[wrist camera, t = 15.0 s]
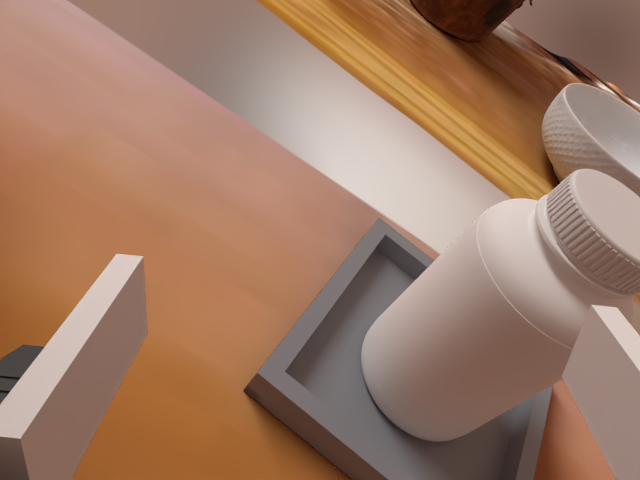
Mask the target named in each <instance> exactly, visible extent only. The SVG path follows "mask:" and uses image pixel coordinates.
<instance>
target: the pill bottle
mask: <svg viewBox="0 0 640 480" xmlns="http://www.w3.org/2000/svg"><path fill="white" fill-rule="evenodd" d="M638 293H640V197H639V196H638V195H636V194H635V193H634V192H633V191H632V190H630V189H629V188H628V187H626V186H625V185H624V184H622V183H621V182H619V181H618V180H616V179H614V178H612V177H611V176H609V175H607V174H604V173H602V172H599V171H596V170H592V169H580V170H576V171H574V172H572V173H571V174H570V175H569V176H568V177H566V178H565V179H564V180H563V181H562V182H561V183H560V184H559V185H558V186H556V187H555V188H554V189H553V190H552V191H551V192H550V193H549V194H547V195H544V196H543V197H542V198H541V199H540V200H539V201H537V200H532V199H522V198H519V199H510V200H506V201H503V202H500V203H498V204H496V205H494V206H492V207H490V208H488V209H487V210H485V211H484V212H483V213H482V214H481V215H480V216H479V217H478V218H477V219H476V220H475V221H474V222H473V223H472V224H471V225H470V226H469V227H468V228H467V229H466V230H465V231H464V232H463V233H462V234H461V235H460V236H459V237H458V238H457V239H456V240H455V241H454V242H453V243H452V244H451V245H450V246H449V247H448V248H447V249H446V250H445V251H444V252H443V253H442V254H441V255H440V256H439V257H438V258H437V259H436V260H435V261H434V262H433V263H432V264H431V265H430V266H429V267H428V268H427V269H426V270H425V271H424V272H423V273H422V274H421V275H420V276H419V277H418V278H417V279H416V280H415V281H414V282H413V283H412V284H411V285H410V286H409V287H408V288H407V289H406V290H405V291H404V292H403V293H402V294H401V295H400V296H399V297H398V298H397V299H396V300H395V301H394V302H393V303H392V304H391V305H390V306H389V307H388V308H387V309H386V310H385V311H384V312H383V313H382V314H381V315H380V316H379V317H378V318H377V319H376V321H375V322H374V323H373V325H372V326H371V327H370V329H369V330H368V332H367V334H366V336H365V339H364V342H363V345H362V351H361V365H362V372H363V376H364V379H365V383H366V385H367V388H368V390H369V392H370V394H371V396H372V398H373V399H374V401H375V403H376V404H377V406H378V407H379V408H380V410H381V411H382V412H383V413H384V414H385V415H386V416H387V418H388V419H389V420H391V421H392V422H393V423H394V424H395V425H396V426H398V427H399V428H400V429H402V430H403V431H405V432H407V433H408V434H410V435H412V436H415V437H417V438H420V439H423V440H428V441H435V442H443V441H449V440H453V439H456V438H459V437H461V436H464V435H466V434H468V433H470V432H471V431H473V430H475V429H477V428H478V427H480V426H482V425H483V424H485V423H487V422H489V421H490V420H492V419H494V418H496V417H497V416H499V415H501V414H503V413H504V412H506V411H508V410H510V409H511V408H513V407H515V406H517V405H518V404H520V403H522V402H524V401H525V400H527V399H529V398H531V397H532V396H534V395H536V394H538V393H539V392H541V391H543V390H545V389H546V388H548V387H550V386H552V385H553V384H555V383H557V382H559V381H560V380H562V379H563V378H562V374H563V372H564V369H565V367H566V365H567V362H568V360H569V357H570V355H571V352H572V350H573V348H574V345H575V343H576V340H577V338H578V335H579V333H580V331H581V328H582V326H583V323H584V321H585V318H586V316H587V314H588V311H589V309H590V306H591V305H599V306H608V307H617V308H618V309H619V311H620V312H621V313H622V314H623V316H624V317H625V318H626V319H627V321H628V322H629V323H630V324H631V322H632V316H633V302H632V297H633V296H635V295H637V294H638Z"/></svg>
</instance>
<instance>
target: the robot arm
mask: <svg viewBox="0 0 640 480" xmlns="http://www.w3.org/2000/svg"><path fill="white" fill-rule="evenodd" d="M147 333H148V328H147V311H146V294H145V277H144V260H143V256H134V255H124V254H116V255H115V257H114V258H113V259H112V261H111V262H110V263H109V264H108V266H107V267H106V268H105V270H104V271H103V272H102V274H101V275H100V276H99V277H98V279H97V280H96V281H95V283H94V284H93V285H92V286H91V288H90V289H89V290H88V292H87V293H86V294H85V296H84V297H83V298H82V299H81V301H80V302H79V303H78V305H77V306H76V307H75V308H74V310H73V311H72V312H71V314H70V315H69V316H68V317H67V319H66V320H65V321H64V323H63V324H62V325H61V327H60V328H59V329H58V330H57V332H56V333H55V334H54V336H53V337H52V338H51V339H50V341H49V342H48V343H47V345H46V346H45V347H40V346H30V345H22V346H21V347H19V348H17V349H16V350H14V351H13V352H11V353H10V354H8V355H6V356H5V357H3V358H2V359H1V360H0V480H71V478H72V477H73V475H74V473H75V471H76V469H77V467H78V465H79V463H80V461H81V459H82V457H83V456H84V454H85V452H86V450H87V448H88V446H89V444H90V442H91V440H92V438H93V436H94V435H95V433H96V431H97V429H98V427H99V425H100V423H101V421H102V419H103V417H104V415H105V414H106V412H107V410H108V408H109V406H110V404H111V402H112V400H113V398H114V396H115V394H116V393H117V391H118V389H119V387H120V385H121V383H122V381H123V379H124V377H125V375H126V373H127V372H128V370H129V368H130V366H131V364H132V362H133V360H134V358H135V356H136V354H137V352H138V351H139V349H140V347H141V345H142V343H143V341H144V339H145V337H146V335H147ZM562 378H563V380H564V382H565V384H566V385H567V387H568V389H569V391H570V393H571V395H572V397H573V399H574V401H575V402H576V404H577V406H578V408H579V410H580V412H581V414H582V416H583V417H584V419H585V421H586V423H587V425H588V427H589V429H590V431H591V433H592V434H593V436H594V438H595V440H596V442H597V444H598V446H599V448H600V449H601V451H602V453H603V455H604V457H605V459H606V461H607V463H608V465H609V466H610V468H611V470H612V472H613V474H614V476H615V478H616V480H640V336H639V335H638V333H637V332H636V331H635V330H634V328H633V327H632V326H631V324H630V323H629V322H628V321H627V319H626V318H625V317H624V316H623V314H622V313H621V312H620V311H619V309H618V308H617V307H608V306H599V305H591V306H590V309H589V311H588V314H587V316H586V318H585V321H584V323H583V326H582V328H581V331H580V333H579V335H578V338H577V340H576V343H575V345H574V348H573V350H572V352H571V355H570V357H569V360H568V362H567V365H566V367H565V369H564V372H563V374H562Z"/></svg>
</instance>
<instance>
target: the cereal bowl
mask: <svg viewBox="0 0 640 480" xmlns="http://www.w3.org/2000/svg"><path fill="white" fill-rule="evenodd" d="M542 140H543V145H544V149H545V150H546V154H547V155H548V158H549V159H550V162H551V163H552V164H553V170H554V173H555V175H556V177H557V179H558V180H559V182H560V183H561V182H562V181H563V180H564V179H565V178H566V177H568V176H569V175H570V174H571V173H572V172H574V171H576V170H580V169H592V170H596V171H599V172H602V173H604V174H607V175H609V176H611V177H612V178H614V179H616V180H618V181H619V182H621V183H622V184H624V185H625V186H626V187H628V188H629V189H630V190H632V191H633V192H634V193H635V194H636V195H638V196H639V197H640V113H639V112H637V111H636V110H635V109H633V108H632V107H630V106H629V105H627V104H626V103H624V102H623V101H621V100H619V99H618V98H616V97H614V96H612V95H611V94H609V93H607V92H605V91H603V90H601V89H598V88H596V87H593V86H590V85H587V84H582V83H571V84H569V85H567V86H565V87H564V88H563V89H562V90H561V91H560V93H559V94H558V95H557V96H556V97H555V99H554V100H553V101H552V103H551V105H550V106H549V108H548V109H547V111H546V113H545V115H544V119H543V122H542Z"/></svg>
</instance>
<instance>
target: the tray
mask: <svg viewBox="0 0 640 480" xmlns="http://www.w3.org/2000/svg"><path fill="white" fill-rule="evenodd" d="M433 262H434V260H433V259H431V258H430V257H429V256H428V255H426V254H425V253H424V252H423V251H421V250H420V249H419V248H417V247H416V246H415V245H414V244H412V243H411V242H410V241H408V240H407V239H406V238H405V237H403V236H402V235H401V234H400V233H398V232H397V231H396V230H394V229H393V228H392V227H391V226H389V225H388V224H387V223H385V222H384V221H383V220H382V219H380V218H378V220H377V221H376V222H375V223H374V225H373V226H372V227H371V228H370V230H369V231H368V232H367V233H366V235H365V236H364V237H363V239H362V240H361V241H360V242H359V244H358V245H357V246H356V247H355V249H354V250H353V251H352V253H351V254H350V255H349V256H348V258H347V259H346V260H345V261H344V263H343V264H342V265H341V267H340V268H339V269H338V270H337V272H336V273H335V274H334V275H333V277H332V278H331V279H330V281H329V282H328V283H327V284H326V286H325V287H324V288H323V289H322V291H321V292H320V293H319V295H318V296H317V297H316V298H315V300H314V301H313V302H312V303H311V305H310V306H309V307H308V309H307V310H306V311H305V312H304V314H303V315H302V316H301V318H300V319H299V320H298V321H297V323H296V324H295V325H294V326H293V328H292V329H291V330H290V332H289V333H288V334H287V335H286V337H285V338H284V339H283V340H282V342H281V343H280V344H279V346H278V347H277V348H276V349H275V351H274V352H273V353H272V354H271V356H270V357H269V358H268V360H267V361H266V362H265V363H264V365H263V366H262V367H261V368H260V370H259V371H258V372H257V374H256V375H255V376H254V377H253V379H252V380H251V381H250V383H249V384H248V385H247V386H246V388H245V389H244V391H245V392H246V393H247V394H249V395H250V396H251V397H252V398H253V399H255V400H256V401H257V402H258V403H260V404H261V405H262V406H263V407H264V408H266V409H267V410H268V411H269V412H271V413H272V414H273V415H274V416H275V417H277V418H278V419H279V420H280V421H281V422H283V423H284V424H285V425H286V426H288V427H289V428H290V429H291V430H292V431H294V432H295V433H296V434H297V435H299V436H300V437H301V438H302V439H303V440H305V441H306V442H307V443H308V444H309V445H311V446H312V447H313V448H314V449H316V450H317V451H318V452H319V453H320V454H322V455H323V456H324V457H325V458H327V459H328V460H329V461H330V462H331V463H333V464H334V465H335V466H336V467H337V468H339V469H340V470H341V471H342V472H344V473H345V474H346V475H347V476H348V477H350V478H351V479H352V480H534V476H535V471H536V466H537V461H538V456H539V452H540V447H541V442H542V437H543V432H544V427H545V422H546V418H547V413H548V408H549V403H550V398H551V393H552V389H553V385H552V386H550V387H548V388H546V389H545V390H543V391H541V392H539V393H538V394H536V395H534V396H532V397H531V398H529V399H527V400H525V401H524V402H522V403H520V404H518V405H517V406H515V407H513V408H511V409H510V410H508V411H506V412H504V413H503V414H501V415H499V416H497V417H496V418H494V419H492V420H490V421H489V422H487V423H485V424H483V425H482V426H480V427H478V428H477V429H475V430H473V431H471V432H470V433H468V434H466V435H464V436H461V437H459V438H456V439H453V440H449V441H443V442H435V441H428V440H423V439H420V438H417V437H415V436H412V435H410V434H408V433H407V432H405V431H403V430H402V429H400V428H399V427H398V426H396V425H395V424H394V423H393V422H392V421H391V420H389V419H388V418H387V416H386V415H385V414H384V413H383V412H382V411H381V410H380V408H379V407H378V406H377V404H376V403H375V401H374V399H373V398H372V396H371V394H370V392H369V390H368V388H367V385H366V383H365V379H364V376H363V372H362V365H361V351H362V345H363V342H364V339H365V336H366V334H367V332H368V330H369V329H370V327H371V326H372V325H373V323H374V322H375V321H376V319H377V318H378V317H379V316H380V315H381V314H382V313H383V312H384V311H385V310H386V309H387V308H388V307H389V306H390V305H391V304H392V303H393V302H394V301H395V300H396V299H397V298H398V297H399V296H400V295H401V294H402V293H403V292H404V291H405V290H406V289H407V288H408V287H409V286H410V285H411V284H412V283H413V282H414V281H415V280H416V279H417V278H418V277H419V276H420V275H421V274H422V273H423V272H424V271H425V270H426V269H427V268H428V267H429V266H430V265H431V264H432V263H433Z"/></svg>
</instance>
